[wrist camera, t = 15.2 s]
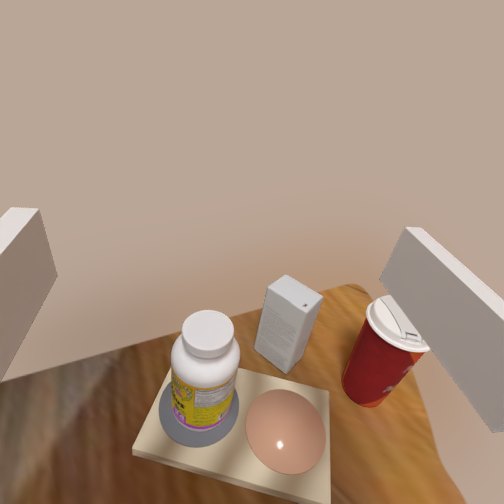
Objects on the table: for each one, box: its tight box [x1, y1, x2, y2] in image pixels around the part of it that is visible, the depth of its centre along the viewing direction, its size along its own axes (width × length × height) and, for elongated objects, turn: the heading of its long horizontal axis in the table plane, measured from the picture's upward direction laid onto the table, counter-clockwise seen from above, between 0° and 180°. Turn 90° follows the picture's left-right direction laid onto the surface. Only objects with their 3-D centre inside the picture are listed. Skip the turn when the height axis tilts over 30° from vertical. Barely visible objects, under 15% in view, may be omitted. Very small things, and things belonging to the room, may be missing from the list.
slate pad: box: [159, 382, 239, 448], centre depth 35 cm, size 9×9×1 cm
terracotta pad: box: [246, 389, 326, 475], centre depth 35 cm, size 9×9×1 cm
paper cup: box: [342, 295, 431, 407], centre depth 38 cm, size 8×8×14 cm
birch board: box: [132, 368, 331, 504], centre depth 36 cm, size 20×12×2 cm, turn 79°
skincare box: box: [254, 274, 323, 374], centre depth 41 cm, size 6×4×12 cm
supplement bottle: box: [171, 310, 240, 432], centre depth 32 cm, size 7×7×13 cm
